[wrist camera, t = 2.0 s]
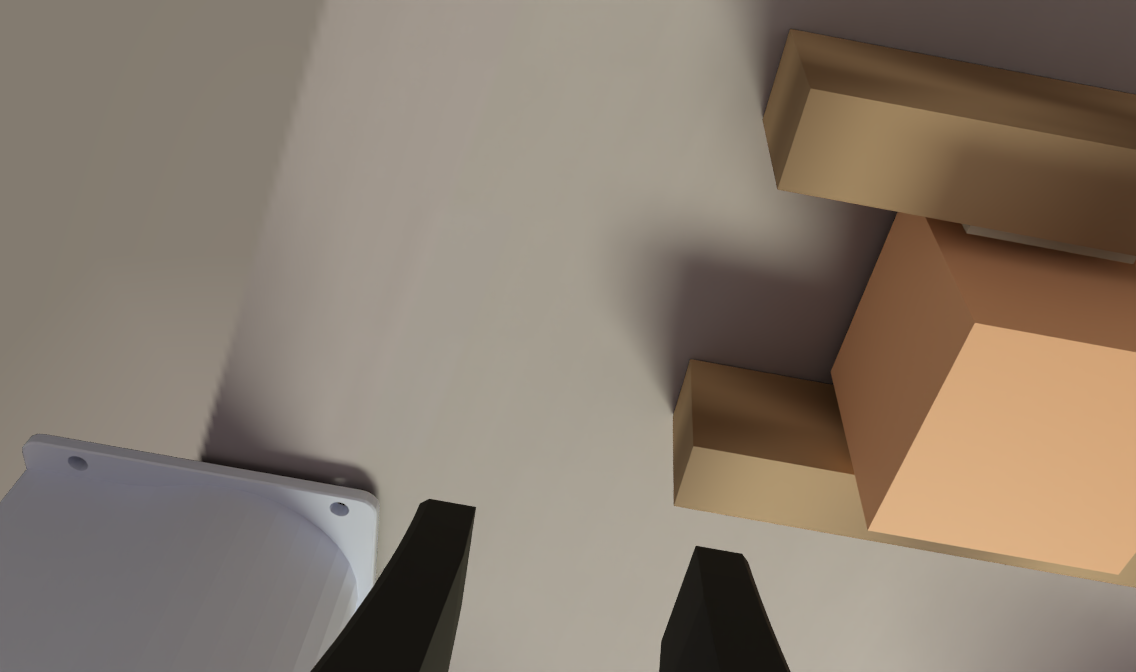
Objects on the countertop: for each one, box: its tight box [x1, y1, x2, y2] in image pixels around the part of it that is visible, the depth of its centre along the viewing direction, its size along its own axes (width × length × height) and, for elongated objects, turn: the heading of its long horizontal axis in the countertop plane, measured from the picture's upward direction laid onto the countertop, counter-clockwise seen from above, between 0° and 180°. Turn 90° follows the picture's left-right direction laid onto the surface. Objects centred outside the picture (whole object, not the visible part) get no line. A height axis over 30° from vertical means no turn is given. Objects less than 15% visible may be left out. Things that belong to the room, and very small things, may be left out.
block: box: [831, 212, 1136, 575], centre depth 18 cm, size 5×5×5 cm
